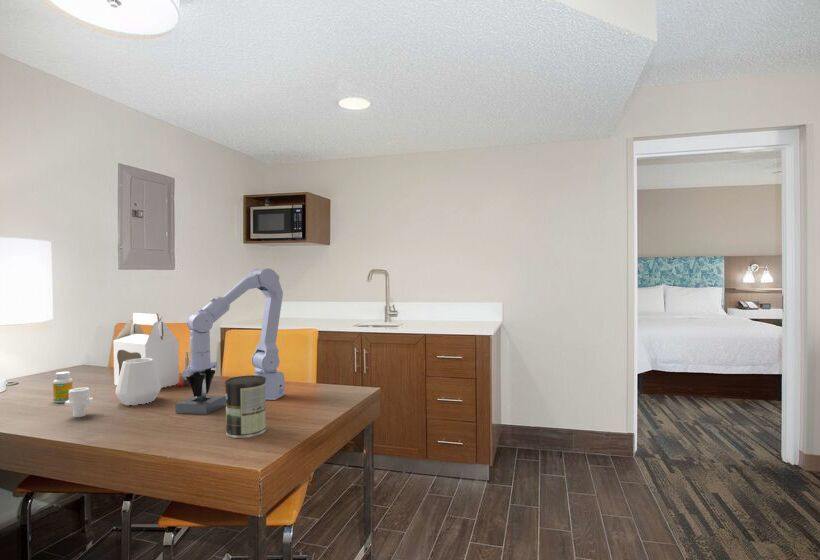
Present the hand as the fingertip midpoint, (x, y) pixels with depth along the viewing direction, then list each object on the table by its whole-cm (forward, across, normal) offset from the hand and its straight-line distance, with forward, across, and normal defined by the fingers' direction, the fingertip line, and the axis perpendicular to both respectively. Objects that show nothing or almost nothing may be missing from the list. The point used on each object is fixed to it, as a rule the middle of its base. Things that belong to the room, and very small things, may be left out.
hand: (201, 394), depth 151 cm
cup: (+5, -5, -27) cm, 28 cm away
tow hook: (+5, -32, -27) cm, 42 cm away
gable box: (+5, -28, -43) cm, 52 cm away
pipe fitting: (+5, +12, -33) cm, 35 cm away
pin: (+3, 0, 0) cm, 3 cm away
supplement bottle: (+5, -2, -54) cm, 54 cm away
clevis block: (+4, 0, 0) cm, 4 cm away
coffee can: (+5, +18, +26) cm, 32 cm away
